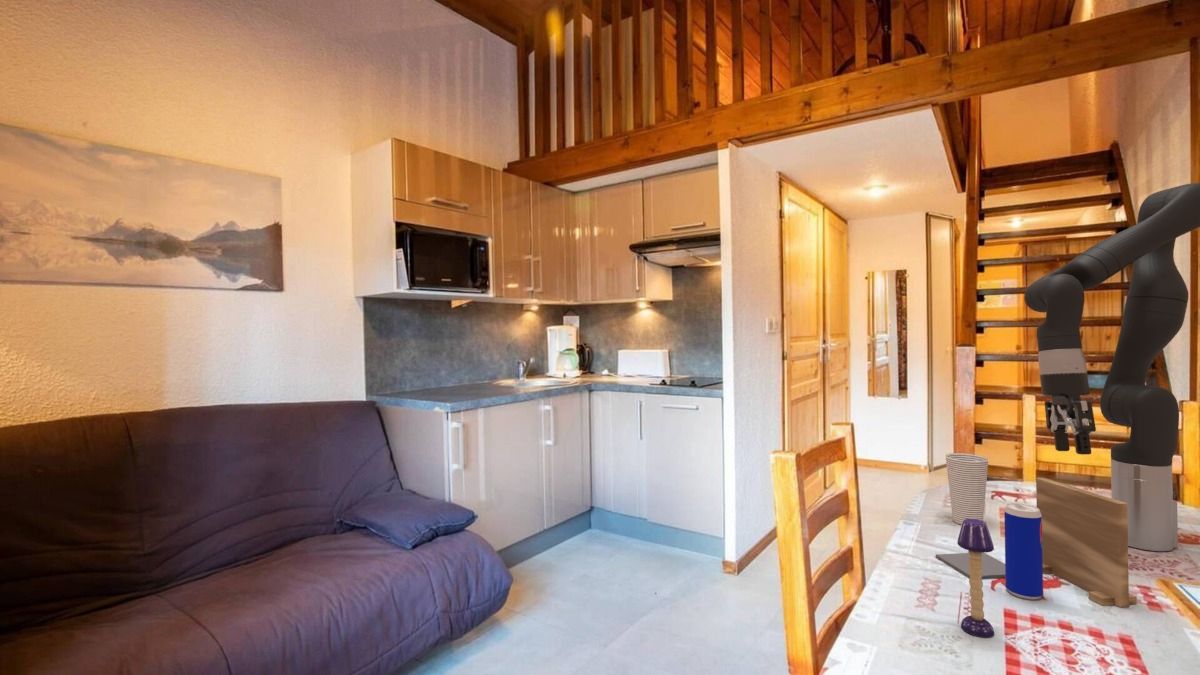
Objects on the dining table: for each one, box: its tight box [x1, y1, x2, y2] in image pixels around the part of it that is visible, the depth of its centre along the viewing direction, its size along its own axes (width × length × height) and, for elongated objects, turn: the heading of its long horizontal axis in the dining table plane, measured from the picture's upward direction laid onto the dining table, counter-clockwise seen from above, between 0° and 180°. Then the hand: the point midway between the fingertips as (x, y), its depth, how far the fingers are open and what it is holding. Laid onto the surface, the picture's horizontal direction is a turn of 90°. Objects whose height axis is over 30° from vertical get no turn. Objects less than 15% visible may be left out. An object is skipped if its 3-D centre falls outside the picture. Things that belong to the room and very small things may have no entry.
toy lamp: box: [957, 519, 995, 638], centre depth 85 cm, size 5×5×17 cm
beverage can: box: [1003, 502, 1044, 601], centre depth 96 cm, size 5×5×15 cm
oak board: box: [1035, 477, 1138, 608], centre depth 99 cm, size 6×16×17 cm, turn 3°
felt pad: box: [935, 552, 1005, 580], centre depth 107 cm, size 10×10×1 cm
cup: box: [945, 452, 989, 526], centre depth 131 cm, size 8×8×16 cm
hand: (1072, 452), depth 112 cm, fingers open, 8 cm apart
